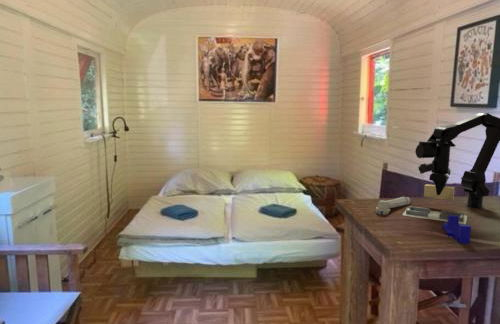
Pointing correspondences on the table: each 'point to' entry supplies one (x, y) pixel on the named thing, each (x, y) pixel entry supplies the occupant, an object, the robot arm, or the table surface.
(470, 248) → the table surface
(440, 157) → the robot arm
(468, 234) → the cable clip
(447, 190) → the link bar
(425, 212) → the chain end links
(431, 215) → the base board
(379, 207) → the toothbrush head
